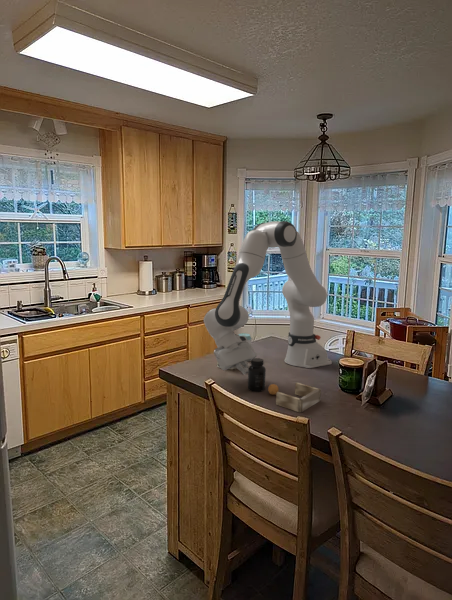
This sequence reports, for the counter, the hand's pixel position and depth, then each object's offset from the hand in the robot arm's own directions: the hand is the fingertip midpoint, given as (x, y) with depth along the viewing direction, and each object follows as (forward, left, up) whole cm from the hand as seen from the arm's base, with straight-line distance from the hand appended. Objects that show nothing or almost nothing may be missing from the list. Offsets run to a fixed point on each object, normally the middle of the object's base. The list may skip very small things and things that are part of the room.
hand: (246, 373), depth 172 cm
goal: (-12, +20, -5) cm, 24 cm away
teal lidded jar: (-12, -33, -6) cm, 36 cm away
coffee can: (-1, -25, -6) cm, 26 cm away
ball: (-6, +11, -3) cm, 13 cm away
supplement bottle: (-2, +4, -6) cm, 7 cm away
